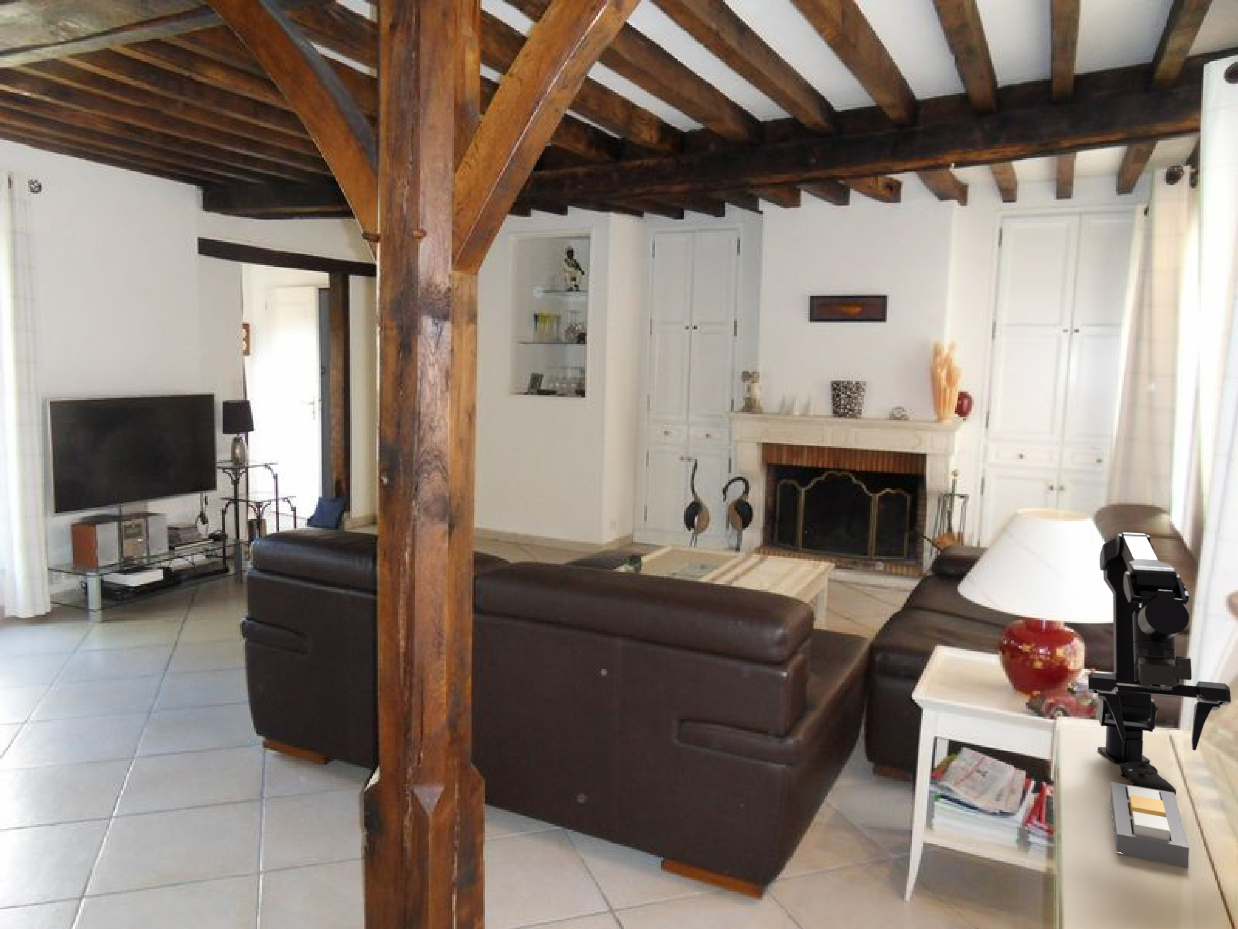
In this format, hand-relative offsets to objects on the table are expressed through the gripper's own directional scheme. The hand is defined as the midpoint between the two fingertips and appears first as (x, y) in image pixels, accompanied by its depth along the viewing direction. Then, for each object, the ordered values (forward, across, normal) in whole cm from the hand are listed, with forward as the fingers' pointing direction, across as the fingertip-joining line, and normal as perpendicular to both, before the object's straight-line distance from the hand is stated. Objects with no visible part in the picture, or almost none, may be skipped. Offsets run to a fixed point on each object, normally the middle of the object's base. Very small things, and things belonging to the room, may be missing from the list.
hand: (1158, 746), depth 134 cm
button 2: (+13, -1, -1) cm, 13 cm away
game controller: (+6, -1, +23) cm, 24 cm away
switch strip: (+13, -2, +6) cm, 14 cm away
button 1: (+9, -2, +11) cm, 14 cm away
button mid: (+10, -2, +5) cm, 12 cm away
